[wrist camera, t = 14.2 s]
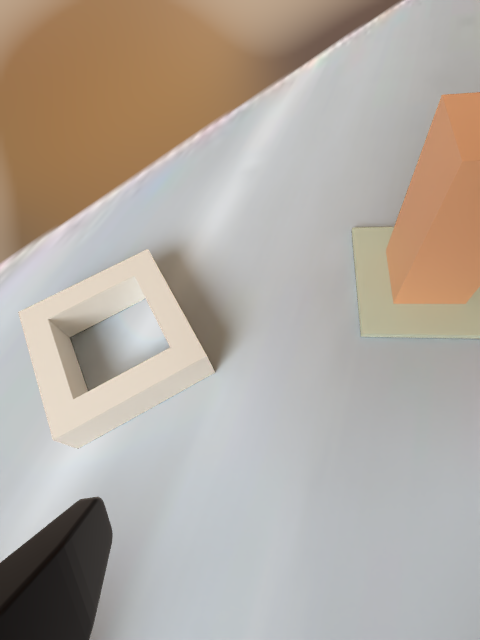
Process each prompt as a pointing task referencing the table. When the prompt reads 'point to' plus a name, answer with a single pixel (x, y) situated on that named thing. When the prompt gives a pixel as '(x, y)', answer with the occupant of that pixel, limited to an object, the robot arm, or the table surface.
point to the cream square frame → (127, 388)
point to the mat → (402, 319)
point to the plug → (441, 212)
